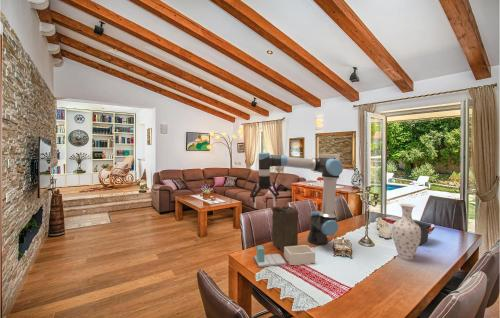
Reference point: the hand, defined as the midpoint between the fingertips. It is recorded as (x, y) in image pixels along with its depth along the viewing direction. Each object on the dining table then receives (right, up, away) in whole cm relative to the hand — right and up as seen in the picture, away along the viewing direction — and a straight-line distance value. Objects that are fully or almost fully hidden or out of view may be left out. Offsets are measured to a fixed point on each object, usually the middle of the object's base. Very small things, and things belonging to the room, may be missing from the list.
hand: (264, 206), depth 164 cm
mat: (+2, -32, -12) cm, 34 cm away
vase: (+93, -33, -5) cm, 98 cm away
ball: (+24, -31, -8) cm, 40 cm away
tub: (+21, -32, -10) cm, 40 cm away
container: (+14, -32, +9) cm, 36 cm away
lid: (+2, -32, -12) cm, 34 cm away
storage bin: (+120, -32, +22) cm, 126 cm away
